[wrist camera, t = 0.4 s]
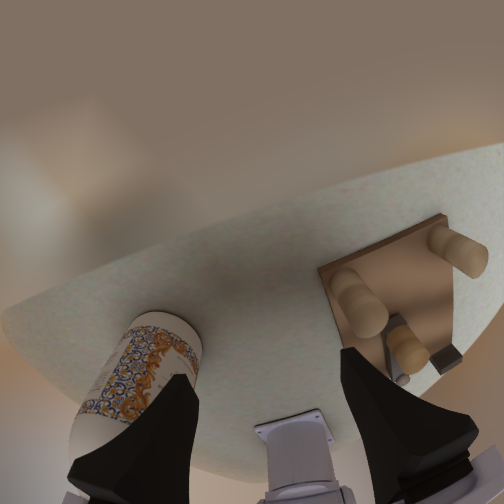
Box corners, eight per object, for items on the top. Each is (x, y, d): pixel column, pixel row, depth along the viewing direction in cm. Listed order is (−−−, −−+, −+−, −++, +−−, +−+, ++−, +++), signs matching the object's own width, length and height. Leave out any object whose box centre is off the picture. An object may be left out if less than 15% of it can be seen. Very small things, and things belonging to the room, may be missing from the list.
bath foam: (217, 357, 23) (189, 581, 4) (158, 375, 24) (103, 554, 5) (175, 297, 21) (73, 554, 2) (117, 322, 22) (10, 508, 3)
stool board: (446, 344, 23) (474, 378, 17) (356, 390, 25) (372, 435, 19) (440, 213, 19) (490, 234, 13) (317, 268, 20) (342, 313, 14)
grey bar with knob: (406, 367, 22) (426, 400, 18) (386, 377, 23) (404, 412, 18) (401, 310, 20) (430, 345, 15) (377, 322, 20) (402, 360, 16)
